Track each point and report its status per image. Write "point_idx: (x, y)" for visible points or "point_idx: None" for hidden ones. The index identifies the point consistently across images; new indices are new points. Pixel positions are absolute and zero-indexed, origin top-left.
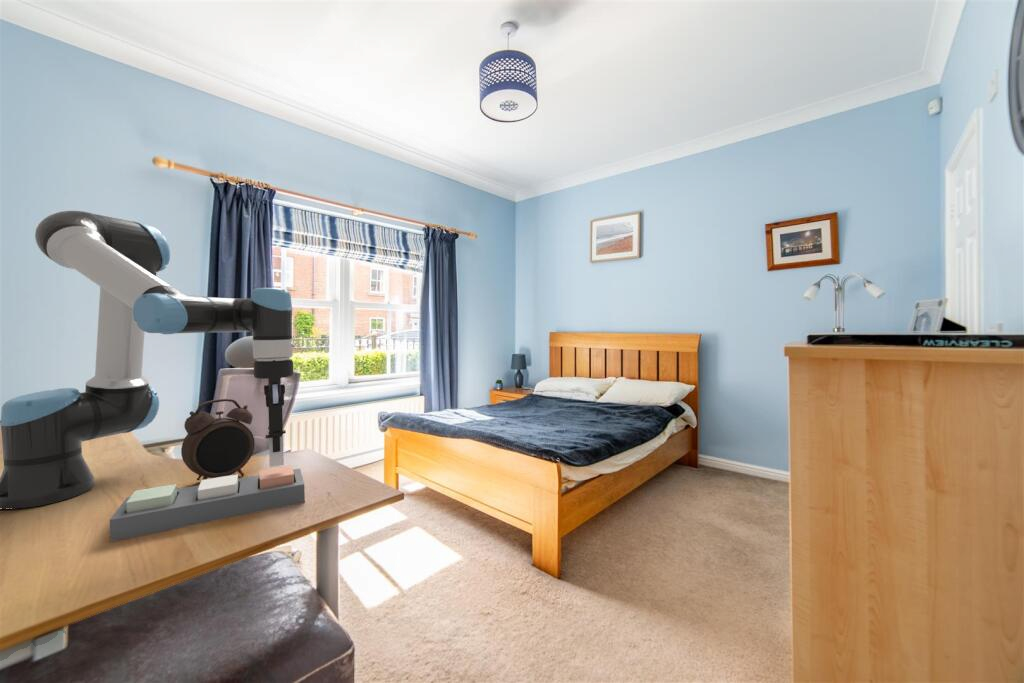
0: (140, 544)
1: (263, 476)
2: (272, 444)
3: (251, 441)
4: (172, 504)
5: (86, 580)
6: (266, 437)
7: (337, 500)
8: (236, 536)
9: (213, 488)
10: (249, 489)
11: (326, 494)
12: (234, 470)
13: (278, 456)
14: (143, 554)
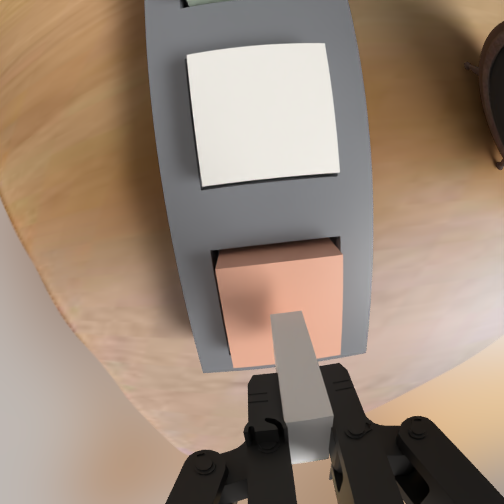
0: (110, 9)
1: (255, 277)
2: (280, 400)
3: None
4: (209, 1)
5: (21, 12)
6: (245, 428)
7: (193, 394)
8: (63, 207)
9: (192, 105)
10: (221, 222)
11: (242, 379)
12: (499, 147)
13: (276, 370)
14: (60, 42)
